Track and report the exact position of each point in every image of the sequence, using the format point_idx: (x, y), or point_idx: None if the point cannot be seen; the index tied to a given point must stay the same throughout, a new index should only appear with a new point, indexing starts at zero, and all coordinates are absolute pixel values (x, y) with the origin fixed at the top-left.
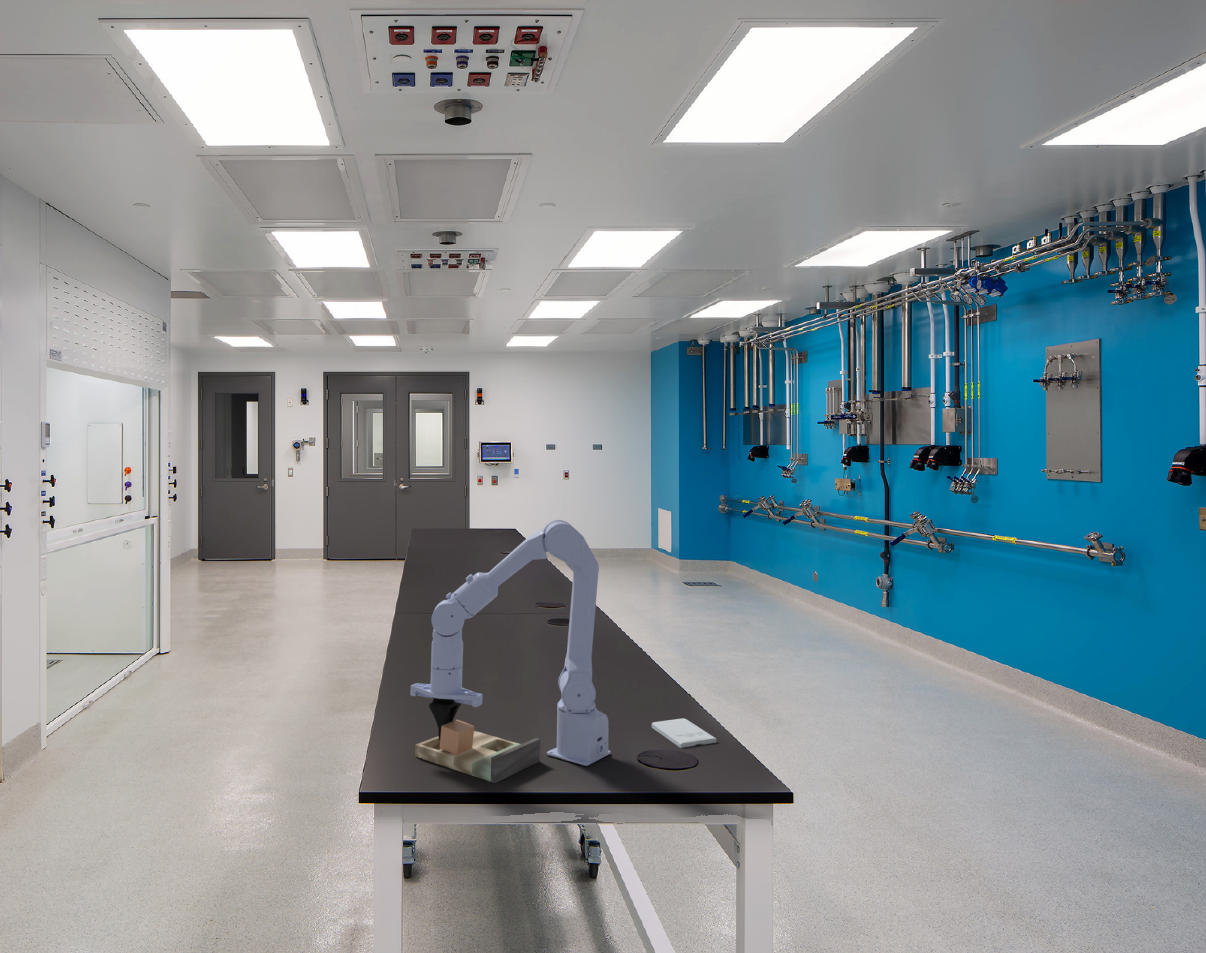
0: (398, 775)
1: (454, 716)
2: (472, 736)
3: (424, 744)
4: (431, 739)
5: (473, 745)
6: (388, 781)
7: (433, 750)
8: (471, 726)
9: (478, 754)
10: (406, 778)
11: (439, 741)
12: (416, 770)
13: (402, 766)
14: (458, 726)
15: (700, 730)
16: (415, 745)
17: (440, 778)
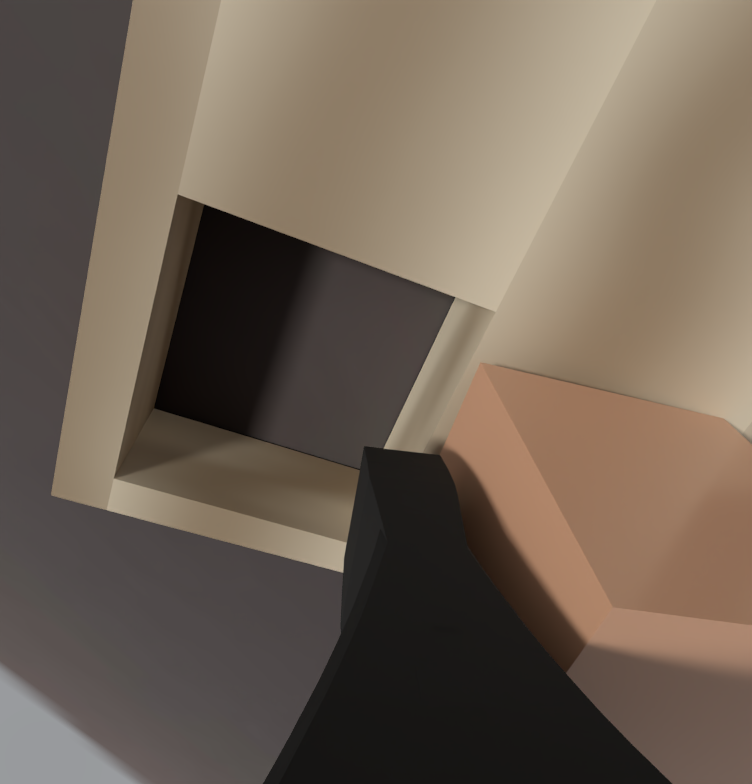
0: (218, 695)
1: (584, 706)
2: None
3: (124, 435)
4: (110, 308)
5: (727, 346)
6: (216, 755)
7: (328, 567)
8: None
9: None
10: (294, 712)
11: (185, 202)
12: (286, 620)
13: (144, 594)
14: (699, 774)
15: None
16: (56, 490)
17: None
